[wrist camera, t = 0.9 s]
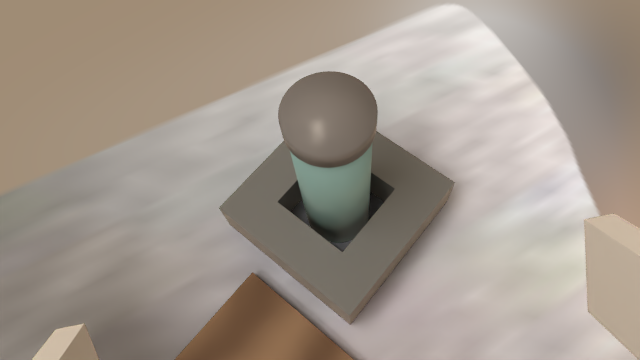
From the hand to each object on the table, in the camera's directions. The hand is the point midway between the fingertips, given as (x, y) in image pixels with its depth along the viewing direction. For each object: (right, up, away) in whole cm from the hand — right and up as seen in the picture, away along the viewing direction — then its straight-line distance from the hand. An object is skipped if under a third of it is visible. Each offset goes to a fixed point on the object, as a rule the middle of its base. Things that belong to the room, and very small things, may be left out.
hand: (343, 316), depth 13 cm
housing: (+1, +1, +32) cm, 32 cm away
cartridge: (+1, +1, +32) cm, 32 cm away
